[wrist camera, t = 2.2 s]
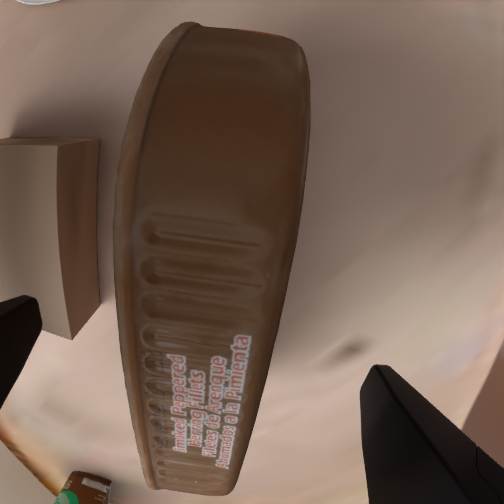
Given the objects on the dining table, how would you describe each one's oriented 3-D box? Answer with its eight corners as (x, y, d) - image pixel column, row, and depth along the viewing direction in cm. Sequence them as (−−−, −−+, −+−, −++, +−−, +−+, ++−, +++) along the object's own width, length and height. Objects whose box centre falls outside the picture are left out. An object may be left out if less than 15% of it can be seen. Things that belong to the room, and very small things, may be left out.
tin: (214, 59, 10) (110, -43, 2) (298, 70, 10) (353, -35, 2) (183, 375, 16) (141, 514, 8) (241, 386, 16) (223, 531, 8)
